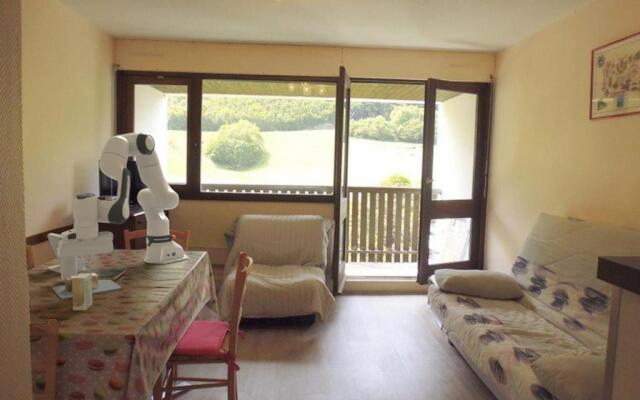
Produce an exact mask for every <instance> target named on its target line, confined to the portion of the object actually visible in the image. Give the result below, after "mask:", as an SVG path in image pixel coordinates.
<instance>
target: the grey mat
mask: <svg viewBox="0 0 640 400" xmlns="http://www.w3.org/2000/svg"><path fill="white" fill-rule="evenodd" d="M122 289H123V288H122V286H120V285H119V284H117V283H116V282H115V281H113V280H112V279H111V280H99V279H98V287H96V288H92V295H95V294H102V293H107V292H113V291H120V290H122ZM51 290H53V292H54V293H55V295H57V296H58V297H59V299H60V300H61V301H64V300H68V299H73V292H67V291H66V289H65V284H63V285H54V286H52V287H51Z"/></svg>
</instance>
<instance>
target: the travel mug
mask: <svg viewBox="0 0 640 400" xmlns="http://www.w3.org/2000/svg"><path fill="white" fill-rule="evenodd" d="M61 239H62V238H61ZM61 239H60V240H61ZM77 257H78V256H77ZM77 257H68V258H60V262H61V273H60V282H61V283H62V284H65V277H71V276H76V275H78V272H77Z"/></svg>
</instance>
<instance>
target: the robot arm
mask: <svg viewBox="0 0 640 400" xmlns="http://www.w3.org/2000/svg"><path fill="white" fill-rule="evenodd" d="M155 147H156V142H155V139H154V137H153V136H152V135H151V134H150V133H146V132H129V133H124V134H117V135H114V136H110V137H109V138H108V139H107V141H106V143H105V144H104V147H103V149H102V151H101V155H100V157H99V161H98V166H99V170H100V171H101V172H102V174H104V175H105V176H107V178H110V179H113V180H114V181H117V192H116V193H117V194H116V199H114V200H104V199H99V198H97V196H96V194H95V193H91V192H89V193H88V192H87V193H86V192H85V193H80V194H77V195H75V198H74V202H73V209H72V211H73V212H72V215H73V220H74V223H73V228H72V229H69V230H66V231H63V232H61V233H60V235H61V238H62V239H61V240H60V241H59V244H58V246H57V248H58V256H59V257H60V258H68V257H79V258H80V260H81V261H82V266H85V267H88V266H90V267H91V266H92V261H93V260H94V258H95V255H100V254H110V253H113V251H114V245H113V244H114V243H113V240H114V234H113V232H111V231H109V230H108V231H107V230H106V231H99V223H104V224H116V225H122V224H124V223H125V222H126V221H127V220H128V219H129V218H130V214H131V212H130V211H131V208H130V197H131V183H132V182H131V181H132V176H131V175H132V174H131V171H130V170H129V169H128V168H127V165H128V164H127V163H128V160H129V157H135V158H134V159H135V163H136V166H137V167H136V168H137V171H138V175H139V177H140V180H141V182H142V183H143V185H145V186H146V187H147V188H143V189H141V190H139V192H138V194H137V196H136V199H137V202H138V204H139V206H141V208H142V209H143V213H144V215H145V218H146V219H145V220H146V237H145V243H146V251H145V257H144V260H143V261H144V263H148V264H163V265H164V264H165V265H166V264H171V263H175V262H181V261H185V260H188V259H189V256H188V255H186V254H185V251H184V249H183V247H182V246H181V245H180V244H178V243H177V242H176V241H174V240H175V239H176V238H177V236H176V235H174V234H171V233H170V220H169V218H168V217H167V215H166V213H165V212H164V211H168V210H174V209H176V207H178V205H179V202H180V197H179V194H178V193H177V192H176V191H175V190H174V189H172V188H171V187H172V186H170V185H169V183H168V182H167V180H166V177H165V175H164V173H163V170H162V166H161V163H160V159H159V156H158V154H157V151H156V149H155ZM85 256H88V257H89V258H88V260H85ZM83 258H84V260H83Z"/></svg>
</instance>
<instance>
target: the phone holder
mask: <svg viewBox="0 0 640 400" xmlns="http://www.w3.org/2000/svg"><path fill="white" fill-rule="evenodd" d="M46 237H47V239H48V241H49V244H50V245H51V247H52V250H53V252H54V255H55V257H56V259H57V261H58V263H59V264H58V265H53V266H49V267H47V270H48V269H49V270H48V271H52V272H55V273H60V274H61V262H60V257H59V256H58V244H59V241H60V239H61V234H60V233H59V234H58V233H53V232H50V233H47V236H46ZM83 260H84V261H85V257H84V258H83ZM84 270H85V271H86V266H82V261H81V260H80V258H79V256H77V273H81V272H85V271H84Z"/></svg>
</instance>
